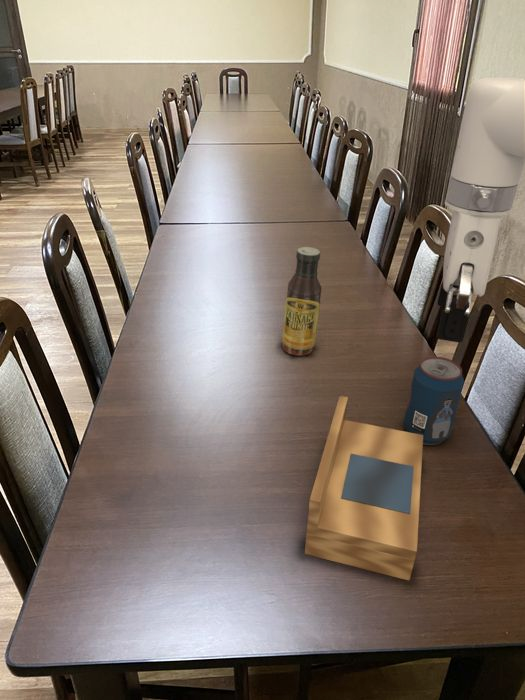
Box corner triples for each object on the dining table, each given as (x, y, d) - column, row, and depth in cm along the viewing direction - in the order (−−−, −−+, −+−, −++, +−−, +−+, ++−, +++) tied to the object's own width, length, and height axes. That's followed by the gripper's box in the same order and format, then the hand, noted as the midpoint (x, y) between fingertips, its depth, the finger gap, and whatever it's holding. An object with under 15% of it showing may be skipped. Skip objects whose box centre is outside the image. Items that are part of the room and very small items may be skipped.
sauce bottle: (278, 355, 100) (283, 254, 90) (285, 339, 106) (290, 242, 95) (313, 360, 99) (322, 258, 89) (318, 343, 104) (327, 246, 94)
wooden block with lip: (417, 461, 76) (428, 411, 72) (409, 580, 60) (423, 525, 55) (333, 444, 79) (339, 395, 74) (304, 554, 63) (309, 499, 58)
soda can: (417, 412, 86) (431, 348, 80) (457, 433, 82) (475, 367, 76) (393, 432, 82) (406, 366, 76) (435, 454, 78) (452, 387, 72)
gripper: (522, 221, 55) (481, 360, 64) (506, 180, 70) (475, 299, 79) (447, 212, 57) (417, 349, 66) (446, 175, 71) (422, 291, 80)
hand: (448, 322), depth 72 cm, fingers open, 9 cm apart
